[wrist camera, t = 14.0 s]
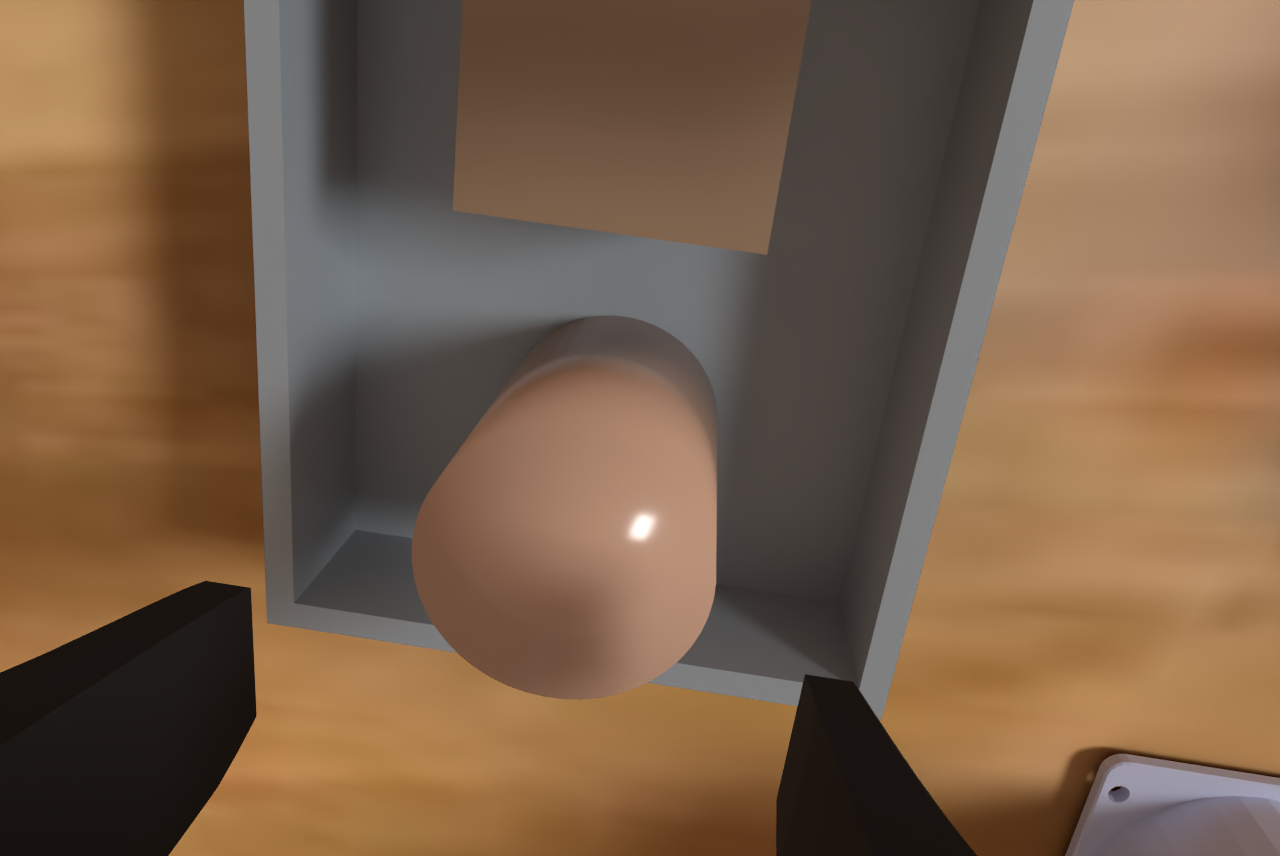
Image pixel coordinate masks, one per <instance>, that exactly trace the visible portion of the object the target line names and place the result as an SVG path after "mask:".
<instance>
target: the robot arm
mask: <svg viewBox="0 0 1280 856" xmlns="http://www.w3.org/2000/svg"><path fill="white" fill-rule="evenodd" d="M255 718H256V696H255V673H254V651H253V629H252V606H251V588H248V587H241V586H235V585H228V584H222V583H216V582H209V581H204V582H201V583H199V584H196V585H193V586H191V587H188V588H186V589H184V590H181V591H179V592H177V593H174V594H172V595H170V596H168V597H165V598H163V599H161V600H159V601H157V602H154V603H152V604H150V605H148V606H146V607H144V608H142V609H139V610H137V611H135V612H133V613H131V614H129V615H127V616H125V617H122V618H120V619H118V620H116V621H114V622H112V623H110V624H108V625H105V626H103V627H101V628H99V629H97V630H95V631H93V632H90V633H88V634H86V635H84V636H82V637H80V638H78V639H75V640H73V641H71V642H69V643H67V644H65V645H62V646H60V647H58V648H56V649H54V650H52V651H50V652H47V653H45V654H43V655H41V656H38V657H36V658H34V659H31V660H29V661H27V662H24V663H22V664H20V665H17V666H15V667H13V668H10V669H8V670H6V671H3V672H1V673H0V856H168V855H169V854H170V853H171V851H172V850H173V848H174V847H175V846H176V844H177V843H178V842H179V840H180V839H181V837H182V836H183V835H184V833H185V832H186V831H187V829H188V828H189V826H190V825H191V824H192V822H193V821H194V819H195V818H196V817H197V815H198V814H199V813H200V811H201V810H202V808H203V807H204V806H205V804H206V803H207V801H208V800H209V799H210V797H211V796H212V794H213V793H214V791H215V790H216V789H217V787H218V786H219V784H220V782H221V780H222V779H223V777H224V775H225V773H226V772H227V770H228V768H229V766H230V765H231V763H232V761H233V759H234V758H235V756H236V754H237V752H238V750H239V748H240V746H241V745H242V743H243V741H244V739H245V737H246V735H247V733H248V731H249V729H250V727H251V726H252V724H253V722H254V720H255ZM1116 786H1122V787H1121V788H1120V789H1118V790H1116V791H1110V790H1111V789H1112V788H1114V787H1116ZM776 848H777V856H977V855H976V854H975V853H974V851H973V850H972V849H971V848H970V847H969V845H968V844H967V843H966V842H965V840H964V839H963V838H962V837H961V835H960V834H959V833H958V832H957V830H956V829H955V828H954V826H953V825H952V824H951V822H950V821H949V820H948V819H947V817H946V816H945V814H944V813H943V812H942V810H941V809H940V808H939V806H938V805H937V803H936V802H935V801H934V799H933V798H932V797H931V795H930V794H929V792H928V791H927V790H926V788H925V787H924V786H923V784H922V783H921V781H920V780H919V779H918V777H917V776H916V774H915V773H914V772H913V770H912V769H911V767H910V766H909V764H908V763H907V761H906V760H905V759H904V757H903V756H902V754H901V753H900V751H899V750H898V748H897V747H896V745H895V744H894V742H893V741H892V739H891V738H890V736H889V735H888V733H887V732H886V730H885V728H884V727H883V725H882V724H881V722H880V721H879V719H878V718H877V716H876V715H875V713H874V712H873V710H872V709H871V707H870V705H869V704H868V702H867V701H866V699H865V698H864V696H863V695H862V693H861V692H860V690H859V689H858V687H857V686H856V685H855V683H854V682H852V681H846V680H840V679H833V678H827V677H820V676H814V675H807V674H805V676H804V681H803V685H802V689H801V694H800V698H799V703H798V707H797V712H796V716H795V721H794V725H793V729H792V734H791V738H790V743H789V747H788V752H787V756H786V761H785V765H784V770H783V774H782V778H781V783H780V787H779V792H778V796H777V826H776ZM1065 856H1280V778H1276V777H1270V776H1263V775H1257V774H1251V773H1244V772H1238V771H1231V770H1225V769H1219V768H1212V767H1206V766H1200V765H1193V764H1187V763H1180V762H1174V761H1168V760H1161V759H1155V758H1149V757H1142V756H1136V755H1129V754H1116V755H1112V756H1109V757H1108V758H1107V759H1105V760H1104V761H1103V762H1102V764H1101V765H1100V767H1099V770H1098V772H1097V775H1096V777H1095V780H1094V783H1093V785H1092V788H1091V790H1090V793H1089V795H1088V798H1087V801H1086V803H1085V806H1084V808H1083V811H1082V814H1081V816H1080V819H1079V821H1078V824H1077V827H1076V829H1075V832H1074V834H1073V837H1072V839H1071V842H1070V845H1069V847H1068V850H1067V852H1066V855H1065Z"/></svg>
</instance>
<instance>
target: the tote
mask: <svg viewBox="0 0 1280 856" xmlns="http://www.w3.org/2000/svg"><path fill="white" fill-rule="evenodd" d="M462 2H463V0H244V19H245V45H246V72H247V98H248V125H249V152H250V178H251V205H252V232H253V258H254V285H255V311H256V338H257V365H258V391H259V418H260V445H261V471H262V498H263V524H264V551H265V578H266V604H267V623H271V624H277V625H284V626H290V627H297V628H303V629H309V630H316V631H322V632H328V633H335V634H341V635H348V636H354V637H360V638H367V639H373V640H379V641H386V642H392V643H398V644H405V645H411V646H418V647H424V648H430V649H437V650H443V651H449V652H456V651H455V650H454V649H453V648H452V647H451V646H450V645H449V644H448V643H447V642H446V640H445V639H444V638H443V637H442V635H441V634H440V633H439V631H438V630H437V629H436V628H435V626H434V624H433V623H432V621H431V619H430V618H429V616H428V614H427V613H426V610H425V608H424V606H423V603H422V601H421V599H420V597H419V594H418V590H417V587H416V583H415V579H414V573H413V566H412V540H413V534H414V527H415V524H416V520H417V517H418V514H419V511H420V508H421V506H422V504H423V502H424V500H425V498H426V496H427V494H428V492H429V491H430V490H431V488H432V487H433V485H434V484H435V482H436V481H437V480H438V478H439V477H440V475H441V474H442V473H443V471H444V470H445V468H446V467H447V466H448V464H449V463H450V461H451V460H452V459H453V457H454V456H455V455H456V453H457V452H458V450H459V449H460V448H461V446H462V445H463V443H464V442H465V441H466V439H467V438H468V436H469V435H470V434H471V432H472V431H473V430H474V428H475V427H476V425H477V424H478V423H479V421H480V420H481V418H482V417H483V416H484V414H485V413H486V411H487V410H488V409H489V407H490V406H491V405H492V403H493V402H494V400H495V399H496V398H497V396H498V395H499V393H500V392H501V391H502V389H503V388H504V386H505V385H506V384H507V382H508V381H509V380H510V378H511V377H512V375H513V374H514V373H515V371H516V370H517V368H518V367H519V366H520V364H521V363H522V361H523V360H524V359H525V357H526V356H527V355H528V353H529V352H530V351H531V350H532V349H533V348H534V346H535V345H536V344H537V343H538V342H539V341H541V340H542V339H543V338H544V337H546V336H547V335H548V334H550V333H551V332H553V331H555V330H556V329H558V328H559V327H561V326H564V325H566V324H568V323H571V322H573V321H577V320H580V319H584V318H588V317H595V316H623V317H630V318H634V319H638V320H642V321H645V322H647V323H650V324H653V325H655V326H657V327H659V328H661V329H663V330H665V331H666V332H668V333H670V334H671V335H672V336H674V337H675V338H677V339H678V340H679V341H681V342H682V343H683V344H684V345H685V346H686V347H687V348H688V349H689V350H690V351H691V352H692V353H693V355H694V356H695V357H696V358H697V359H698V361H699V362H700V364H701V365H702V367H703V369H704V370H705V372H706V374H707V376H708V378H709V380H710V383H711V385H712V388H713V391H714V395H715V398H716V405H717V544H716V587H715V594H714V600H713V604H712V607H711V610H710V614H709V617H708V619H707V621H706V623H705V625H704V627H703V629H702V631H701V633H700V635H699V636H698V638H697V639H696V641H695V642H694V644H693V645H692V647H691V648H690V649H689V650H688V651H687V652H686V653H685V654H684V656H683V657H682V658H681V659H680V660H679V661H678V662H676V663H675V664H674V665H673V666H672V667H670V668H669V669H668V670H667V671H666V672H664V673H662V674H661V675H659V676H658V677H656V678H655V679H653V680H651V681H649V682H647V683H653V684H660V685H666V686H672V687H679V688H685V689H691V690H698V691H704V692H711V693H717V694H723V695H730V696H736V697H742V698H749V699H755V700H761V701H768V702H774V703H781V704H787V705H793V706H798V703H799V698H800V694H801V689H802V685H803V681H804V676H805V674H807V675H814V676H820V677H827V678H833V679H840V680H846V681H852V682H854V683H855V685H856V686H857V687H858V689H859V690H860V692H861V693H862V695H863V696H864V698H865V699H866V701H867V702H868V704H869V705H870V707H871V709H872V710H873V712H874V713H875V715H876V716H877V718H878V719H882V715H883V712H884V708H885V704H886V701H887V697H888V693H889V689H890V686H891V682H892V678H893V674H894V671H895V667H896V663H897V660H898V656H899V652H900V648H901V645H902V641H903V637H904V633H905V630H906V626H907V622H908V618H909V615H910V611H911V607H912V604H913V600H914V596H915V592H916V589H917V585H918V581H919V577H920V574H921V570H922V566H923V563H924V559H925V555H926V551H927V548H928V544H929V540H930V536H931V533H932V529H933V525H934V521H935V518H936V514H937V510H938V507H939V503H940V499H941V495H942V492H943V488H944V484H945V480H946V477H947V473H948V469H949V466H950V462H951V458H952V454H953V451H954V447H955V443H956V439H957V436H958V432H959V428H960V424H961V421H962V417H963V413H964V410H965V406H966V402H967V398H968V395H969V391H970V387H971V383H972V380H973V376H974V372H975V369H976V365H977V361H978V357H979V354H980V350H981V346H982V342H983V339H984V335H985V331H986V327H987V324H988V320H989V316H990V313H991V309H992V305H993V301H994V298H995V294H996V290H997V286H998V283H999V279H1000V275H1001V271H1002V268H1003V264H1004V260H1005V257H1006V253H1007V249H1008V245H1009V242H1010V238H1011V234H1012V230H1013V227H1014V223H1015V219H1016V216H1017V212H1018V208H1019V204H1020V201H1021V197H1022V193H1023V189H1024V186H1025V182H1026V178H1027V174H1028V171H1029V167H1030V163H1031V160H1032V156H1033V152H1034V148H1035V145H1036V141H1037V137H1038V133H1039V130H1040V126H1041V122H1042V119H1043V115H1044V111H1045V107H1046V104H1047V100H1048V96H1049V92H1050V89H1051V85H1052V81H1053V77H1054V74H1055V70H1056V66H1057V63H1058V59H1059V55H1060V51H1061V48H1062V44H1063V40H1064V36H1065V33H1066V29H1067V25H1068V22H1069V18H1070V14H1071V10H1072V7H1073V3H1074V0H812V1H811V7H810V13H809V19H808V24H807V30H806V36H805V41H804V47H803V53H802V58H801V64H800V70H799V76H798V81H797V87H796V93H795V98H794V104H793V110H792V115H791V121H790V127H789V132H788V138H787V144H786V150H785V155H784V161H783V167H782V172H781V178H780V184H779V189H778V195H777V201H776V207H775V212H774V218H773V224H772V229H771V235H770V241H769V246H768V252H767V255H765V254H758V253H751V252H744V251H737V250H730V249H723V248H716V247H708V246H701V245H694V244H687V243H680V242H673V241H666V240H659V239H652V238H644V237H637V236H630V235H623V234H616V233H609V232H602V231H595V230H588V229H580V228H573V227H566V226H559V225H552V224H545V223H538V222H531V221H524V220H516V219H509V218H502V217H495V216H488V215H481V214H474V213H467V212H460V211H453V194H454V173H455V151H456V130H457V109H458V87H459V66H460V45H461V23H462ZM456 653H457V652H456Z"/></svg>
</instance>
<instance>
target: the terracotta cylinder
mask: <svg viewBox="0 0 1280 856" xmlns="http://www.w3.org/2000/svg"><path fill="white" fill-rule="evenodd" d="M716 544H717V405H716V398H715V395H714V391H713V388H712V385H711V383H710V380H709V378H708V376H707V374H706V372H705V370H704V369H703V367H702V365H701V364H700V362H699V361H698V359H697V358H696V357H695V356H694V355H693V353H692V352H691V351H690V350H689V349H688V348H687V347H686V346H685V345H684V344H683V343H682V342H681V341H679V340H678V339H677V338H675V337H674V336H672V335H671V334H670V333H668V332H666V331H665V330H663V329H661V328H659V327H657V326H655V325H653V324H650V323H647V322H645V321H642V320H638V319H634V318H630V317H623V316H595V317H588V318H584V319H580V320H577V321H573V322H571V323H568V324H566V325H564V326H561V327H559V328H558V329H556V330H555V331H553V332H551V333H550V334H548V335H547V336H546V337H544V338H543V339H542V340H541V341H539V342H538V343H537V344H536V345H535V346H534V348H533V349H532V350H531V351H530V352H529V353H528V355H527V356H526V357H525V359H524V360H523V361H522V363H521V364H520V366H519V367H518V368H517V370H516V371H515V373H514V374H513V375H512V377H511V378H510V380H509V381H508V382H507V384H506V385H505V386H504V388H503V389H502V391H501V392H500V393H499V395H498V396H497V398H496V399H495V400H494V402H493V403H492V405H491V406H490V407H489V409H488V410H487V411H486V413H485V414H484V416H483V417H482V418H481V420H480V421H479V423H478V424H477V425H476V427H475V428H474V430H473V431H472V432H471V434H470V435H469V436H468V438H467V439H466V441H465V442H464V443H463V445H462V446H461V448H460V449H459V450H458V452H457V453H456V455H455V456H454V457H453V459H452V460H451V461H450V463H449V464H448V466H447V467H446V468H445V470H444V471H443V473H442V474H441V475H440V477H439V478H438V480H437V481H436V482H435V484H434V485H433V487H432V488H431V490H430V491H429V492H428V494H427V496H426V498H425V500H424V502H423V504H422V506H421V508H420V511H419V514H418V517H417V520H416V524H415V527H414V534H413V540H412V566H413V573H414V579H415V583H416V587H417V590H418V594H419V597H420V599H421V601H422V603H423V606H424V608H425V610H426V613H427V614H428V616H429V618H430V619H431V621H432V623H433V624H434V626H435V628H436V629H437V630H438V631H439V633H440V634H441V635H442V637H443V638H444V639H445V640H446V642H447V643H448V644H449V645H450V646H451V647H452V648H453V649H454V650H455V651H456V652H457V653H458V654H459V655H460V656H461V657H463V658H464V659H465V660H466V661H468V662H469V663H470V664H471V665H473V666H474V667H475V668H477V669H478V670H480V671H482V672H483V673H485V674H486V675H488V676H490V677H491V678H493V679H495V680H497V681H499V682H502V683H504V684H506V685H508V686H511V687H513V688H516V689H519V690H522V691H524V692H528V693H532V694H536V695H540V696H545V697H553V698H560V699H590V698H600V697H605V696H610V695H615V694H619V693H622V692H625V691H628V690H631V689H634V688H637V687H639V686H641V685H643V684H645V683H647V682H649V681H651V680H653V679H655V678H656V677H658V676H659V675H661V674H662V673H664V672H666V671H667V670H668V669H669V668H670V667H672V666H673V665H674V664H675V663H676V662H678V661H679V660H680V659H681V658H682V657H683V656H684V654H685V653H686V652H687V651H688V650H689V649H690V648H691V647H692V645H693V644H694V642H695V641H696V639H697V638H698V636H699V635H700V633H701V631H702V629H703V627H704V625H705V623H706V621H707V619H708V617H709V614H710V610H711V607H712V604H713V600H714V594H715V587H716Z"/></svg>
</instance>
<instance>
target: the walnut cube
mask: <svg viewBox="0 0 1280 856" xmlns="http://www.w3.org/2000/svg"><path fill="white" fill-rule="evenodd" d="M811 1H812V0H463V2H462V23H461V45H460V66H459V87H458V109H457V130H456V151H455V173H454V194H453V211H460V212H467V213H474V214H481V215H488V216H495V217H502V218H509V219H516V220H524V221H531V222H538V223H545V224H552V225H559V226H566V227H573V228H580V229H588V230H595V231H602V232H609V233H616V234H623V235H630V236H637V237H644V238H652V239H659V240H666V241H673V242H680V243H687V244H694V245H701V246H708V247H716V248H723V249H730V250H737V251H744V252H751V253H758V254H765V255H767V252H768V246H769V241H770V235H771V229H772V224H773V218H774V212H775V207H776V201H777V195H778V189H779V184H780V178H781V172H782V167H783V161H784V155H785V150H786V144H787V138H788V132H789V127H790V121H791V115H792V110H793V104H794V98H795V93H796V87H797V81H798V76H799V70H800V64H801V58H802V53H803V47H804V41H805V36H806V30H807V24H808V19H809V13H810V7H811Z"/></svg>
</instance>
